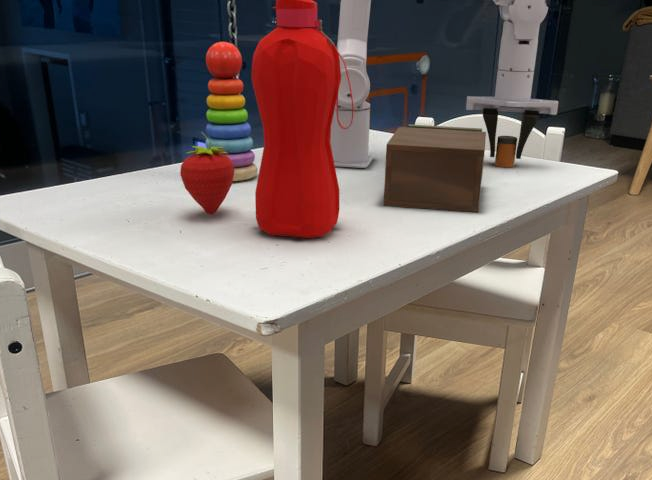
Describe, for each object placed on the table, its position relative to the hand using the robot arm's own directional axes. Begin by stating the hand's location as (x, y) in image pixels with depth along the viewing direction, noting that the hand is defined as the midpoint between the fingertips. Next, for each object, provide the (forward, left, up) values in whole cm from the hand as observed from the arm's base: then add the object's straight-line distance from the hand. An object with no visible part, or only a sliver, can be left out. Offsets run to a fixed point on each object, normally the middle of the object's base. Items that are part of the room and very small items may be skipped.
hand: (505, 156), depth 121 cm
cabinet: (-10, -24, -1) cm, 26 cm away
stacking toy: (-41, -21, -2) cm, 46 cm away
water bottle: (-24, -44, -2) cm, 50 cm away
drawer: (-10, -13, -1) cm, 16 cm away
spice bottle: (0, 0, -1) cm, 1 cm away
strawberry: (-37, -41, -2) cm, 55 cm away
